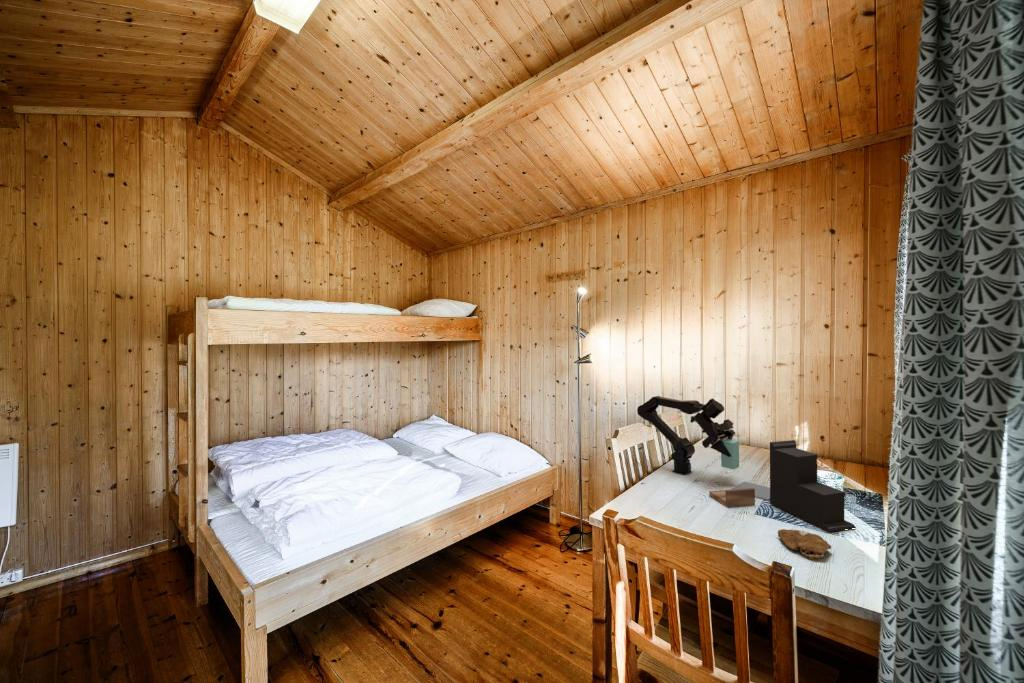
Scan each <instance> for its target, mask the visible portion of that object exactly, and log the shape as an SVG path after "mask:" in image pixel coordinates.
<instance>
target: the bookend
mask: <svg viewBox="0 0 1024 683" xmlns="http://www.w3.org/2000/svg"><path fill="white" fill-rule="evenodd" d="M818 458H819V455H818V454H816V453H813V452H810V451H807V450H803V449H801V448H797V442H796V440H793V439H790V440H779V441H778V440H777V441H770V442H769V487H770V500H769V504H770V505H772V506H774V507H776V508H779V509H780V510H783V511H784V512H787V513H788V514H791V515H792V514H793V516H794V515H795V516H794V517H796V516H797V517H796V518H798V517H800V518H801V519H800V518H799V519H800V520H802V519H804V520H806V521H805V522H807V521H808V522H807V523H809V522H810V523H809V524H811V523H812V524H811V525H813V524H814V525H813V526H815V525H816V526H815V527H817V526H818V527H817V528H819V527H820V528H819V529H821V528H822V529H821V530H823V529H824V530H823V531H825V530H826V531H825V532H827V531H828V532H827V533H829V532H831V533H835V532H834V531H838V532H841V531H840V530H845V529H852V528H857V526H855V524H853V523H852V522H850V521H847V520H846V519H845V497H846V491H842V490H839V488H838V489H837V488H835V487H831V486H830V485H827V484H824V483H822V482H819V481H818ZM804 520H803V521H804Z"/></svg>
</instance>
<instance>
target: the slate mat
mask: <svg viewBox="0 0 1024 683" xmlns="http://www.w3.org/2000/svg"><path fill="white" fill-rule="evenodd" d="M746 488H754V489H755V498H756V497H757V498H756V499H760V498H761V500H764V501H767V500H768V501H770V500H769V499H770V486H765V485H761V484H757V483H753V482H749V481H742V482H741V483H739V484H738V485H736V486H734V487H732V488H731V489H746Z"/></svg>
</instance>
